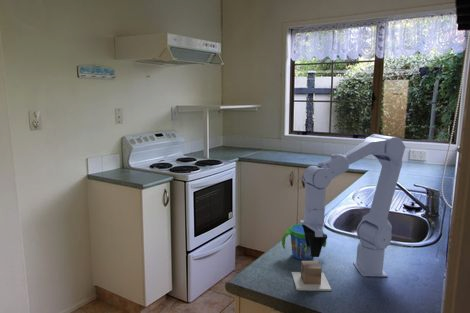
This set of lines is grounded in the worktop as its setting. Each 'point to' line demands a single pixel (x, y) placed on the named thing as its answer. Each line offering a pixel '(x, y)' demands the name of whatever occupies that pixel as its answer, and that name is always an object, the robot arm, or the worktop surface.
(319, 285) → the cream tile
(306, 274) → the walnut block
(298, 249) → the snack cup
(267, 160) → the worktop surface
